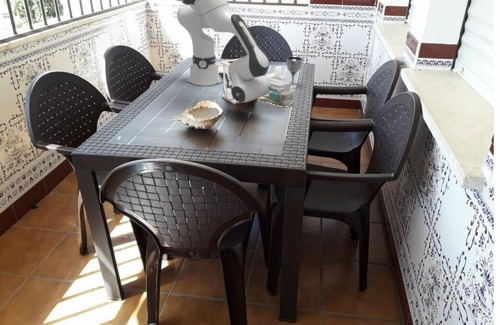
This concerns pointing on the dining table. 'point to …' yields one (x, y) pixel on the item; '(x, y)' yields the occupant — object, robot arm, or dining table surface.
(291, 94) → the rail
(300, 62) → the wine glass
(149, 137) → the dining table surface
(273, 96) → the white tall piece
